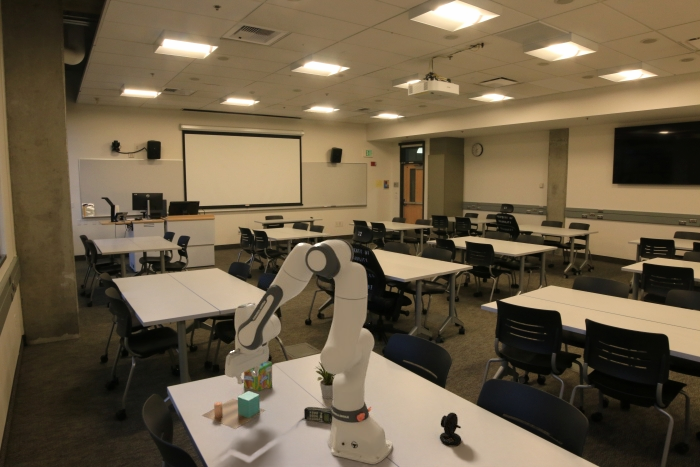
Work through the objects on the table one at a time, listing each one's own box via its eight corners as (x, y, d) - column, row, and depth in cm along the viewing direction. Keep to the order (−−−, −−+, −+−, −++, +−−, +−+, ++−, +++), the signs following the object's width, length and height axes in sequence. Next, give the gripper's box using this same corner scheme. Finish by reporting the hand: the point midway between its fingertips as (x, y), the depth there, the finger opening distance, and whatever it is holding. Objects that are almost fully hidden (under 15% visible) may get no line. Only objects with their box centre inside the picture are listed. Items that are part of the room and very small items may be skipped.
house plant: (329, 409, 180) (329, 370, 178) (303, 399, 188) (303, 361, 186) (350, 396, 191) (350, 359, 189) (325, 387, 199) (325, 351, 197)
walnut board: (265, 413, 176) (265, 410, 176) (235, 432, 163) (235, 428, 162) (233, 402, 185) (233, 398, 185) (201, 419, 172) (201, 415, 172)
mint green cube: (259, 411, 175) (259, 394, 174) (249, 418, 170) (248, 400, 169) (248, 407, 178) (248, 390, 177) (238, 414, 173) (237, 396, 172)
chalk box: (243, 390, 196) (242, 357, 195) (257, 382, 204) (256, 350, 203) (260, 394, 192) (259, 361, 190) (273, 386, 200) (272, 354, 198)
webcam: (445, 431, 163) (446, 405, 162) (465, 439, 159) (465, 412, 157) (435, 441, 157) (436, 414, 156) (455, 449, 153) (455, 421, 151)
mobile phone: (303, 409, 170) (341, 412, 167) (305, 405, 173) (343, 408, 170) (303, 421, 171) (342, 424, 168) (306, 417, 174) (343, 420, 171)
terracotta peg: (224, 415, 172) (224, 403, 171) (218, 419, 169) (217, 406, 169) (219, 413, 173) (218, 401, 173) (212, 416, 171) (212, 404, 170)
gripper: (232, 355, 160) (233, 392, 162) (271, 338, 178) (272, 372, 179) (220, 352, 164) (221, 388, 165) (259, 336, 181) (260, 368, 182)
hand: (248, 379), depth 172 cm, fingers open, 6 cm apart
